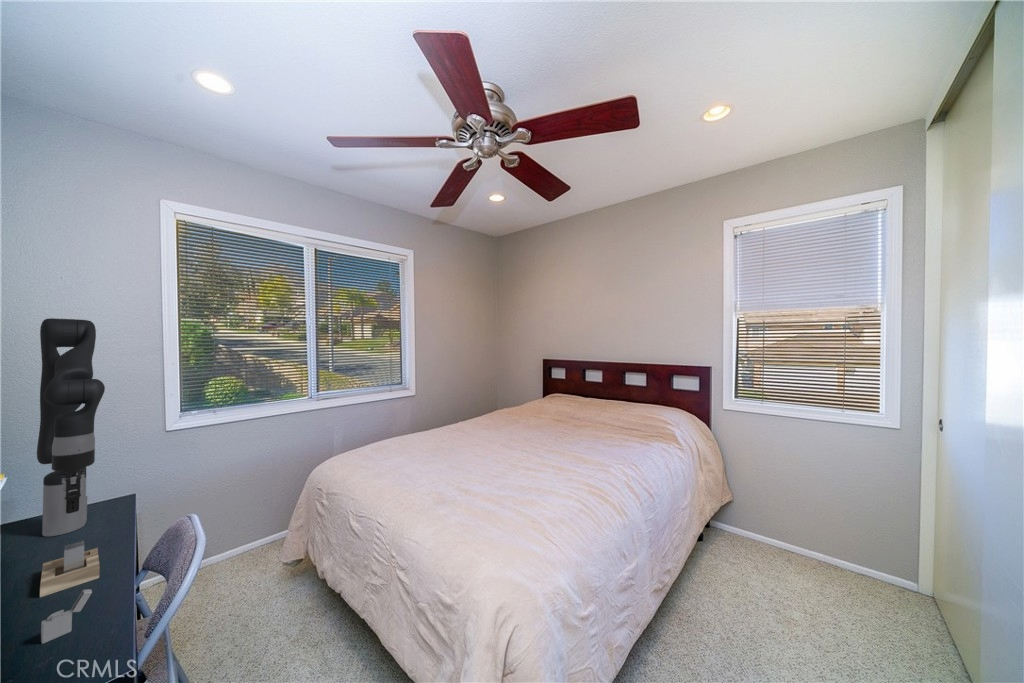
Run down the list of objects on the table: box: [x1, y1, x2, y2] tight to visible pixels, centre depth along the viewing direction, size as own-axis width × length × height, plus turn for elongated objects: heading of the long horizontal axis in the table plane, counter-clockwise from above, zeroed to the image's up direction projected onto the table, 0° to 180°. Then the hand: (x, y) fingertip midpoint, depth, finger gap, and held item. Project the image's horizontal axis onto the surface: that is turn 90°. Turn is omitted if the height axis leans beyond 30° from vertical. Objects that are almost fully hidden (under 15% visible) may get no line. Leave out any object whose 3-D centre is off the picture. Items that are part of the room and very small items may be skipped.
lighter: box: [40, 588, 93, 645], centre depth 81 cm, size 7×2×8 cm, turn 149°
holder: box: [39, 547, 100, 598], centre depth 99 cm, size 14×10×3 cm
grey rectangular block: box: [63, 540, 85, 574], centre depth 98 cm, size 4×4×9 cm
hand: (72, 507), depth 98 cm, fingers open, 8 cm apart
